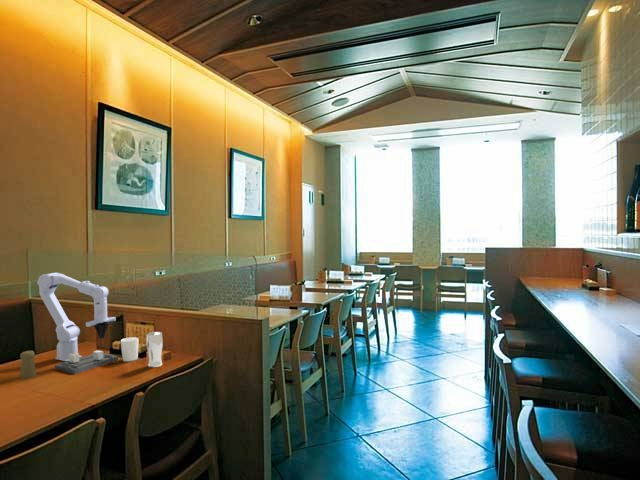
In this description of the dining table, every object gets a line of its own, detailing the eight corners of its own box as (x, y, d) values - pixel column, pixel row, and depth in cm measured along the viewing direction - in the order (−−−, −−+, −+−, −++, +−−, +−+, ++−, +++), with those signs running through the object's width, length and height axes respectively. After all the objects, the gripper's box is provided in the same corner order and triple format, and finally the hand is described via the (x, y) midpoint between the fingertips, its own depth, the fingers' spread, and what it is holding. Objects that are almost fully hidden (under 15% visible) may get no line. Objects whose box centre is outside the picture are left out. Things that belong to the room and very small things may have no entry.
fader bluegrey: (93, 359, 191) (93, 351, 191) (98, 357, 193) (97, 349, 193) (98, 360, 189) (98, 352, 189) (103, 358, 191) (103, 351, 191)
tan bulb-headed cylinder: (27, 379, 172) (26, 353, 172) (16, 378, 174) (15, 353, 173) (40, 374, 178) (39, 349, 178) (28, 373, 179) (28, 349, 179)
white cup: (134, 361, 193) (133, 341, 193) (118, 362, 193) (117, 341, 193) (141, 356, 201) (141, 337, 201) (126, 357, 201) (125, 337, 201)
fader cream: (69, 361, 188) (68, 353, 188) (74, 360, 190) (74, 352, 190) (74, 362, 186) (73, 354, 186) (79, 361, 188) (79, 353, 188)
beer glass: (166, 363, 190) (165, 331, 190) (158, 368, 183) (157, 335, 183) (152, 362, 191) (151, 331, 191) (144, 367, 184) (143, 335, 184)
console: (55, 369, 184) (55, 363, 184) (98, 356, 203) (98, 350, 203) (74, 374, 177) (74, 367, 177) (117, 360, 196) (117, 354, 196)
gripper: (91, 314, 192) (92, 342, 192) (119, 308, 205) (119, 335, 205) (82, 313, 195) (83, 340, 196) (110, 307, 208) (111, 333, 209)
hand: (101, 337), depth 201 cm, fingers closed
